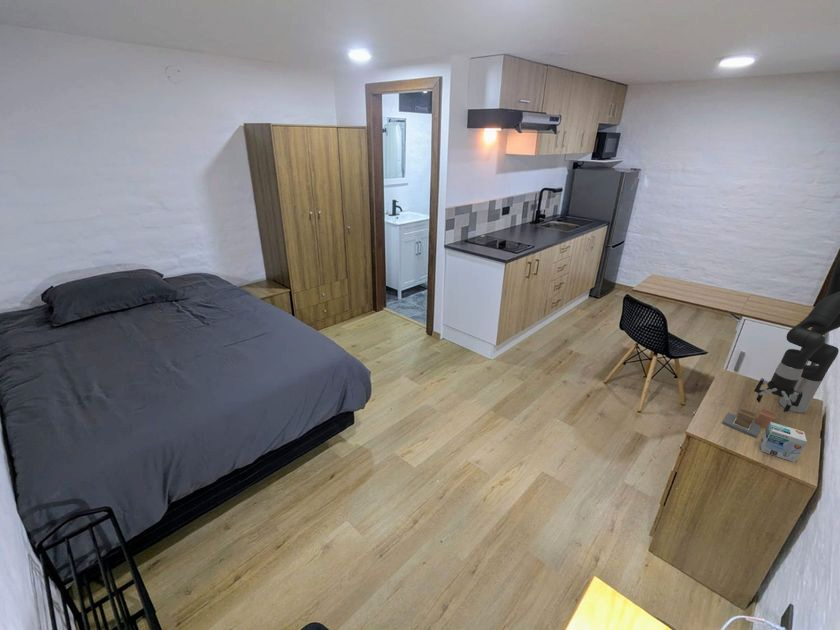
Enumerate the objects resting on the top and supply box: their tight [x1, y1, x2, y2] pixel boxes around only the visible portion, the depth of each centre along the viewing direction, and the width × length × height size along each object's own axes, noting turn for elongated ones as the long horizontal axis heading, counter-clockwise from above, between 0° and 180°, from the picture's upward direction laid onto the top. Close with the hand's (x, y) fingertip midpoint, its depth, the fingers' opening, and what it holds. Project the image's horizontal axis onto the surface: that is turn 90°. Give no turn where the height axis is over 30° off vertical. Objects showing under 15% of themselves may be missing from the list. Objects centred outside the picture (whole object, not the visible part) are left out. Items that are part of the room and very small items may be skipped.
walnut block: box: [734, 407, 757, 429], centre depth 168 cm, size 5×5×6 cm
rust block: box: [754, 408, 777, 430], centre depth 169 cm, size 5×5×6 cm
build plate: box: [721, 412, 762, 439], centre depth 170 cm, size 9×12×1 cm
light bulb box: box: [759, 421, 808, 463], centre depth 154 cm, size 11×7×11 cm, turn 56°
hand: (771, 406), depth 166 cm, fingers open, 8 cm apart
